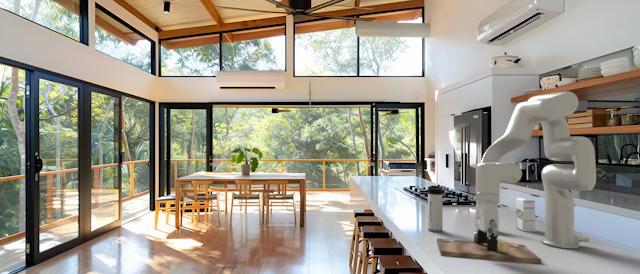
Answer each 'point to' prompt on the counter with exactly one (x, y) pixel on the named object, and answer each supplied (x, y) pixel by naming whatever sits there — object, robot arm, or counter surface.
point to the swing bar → (502, 245)
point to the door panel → (485, 251)
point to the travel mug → (435, 209)
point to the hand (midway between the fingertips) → (486, 247)
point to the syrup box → (525, 214)
